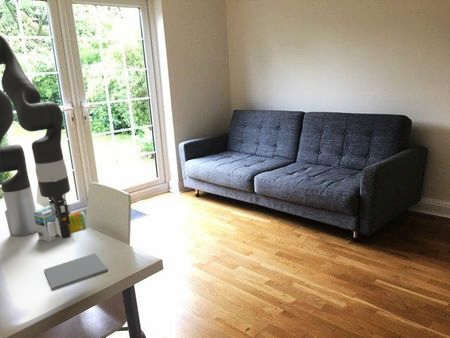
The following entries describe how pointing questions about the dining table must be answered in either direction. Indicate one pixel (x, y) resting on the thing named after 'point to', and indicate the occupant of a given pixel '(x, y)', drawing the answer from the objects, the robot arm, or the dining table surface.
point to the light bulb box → (45, 222)
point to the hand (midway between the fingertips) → (64, 234)
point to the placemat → (74, 271)
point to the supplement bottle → (75, 225)
